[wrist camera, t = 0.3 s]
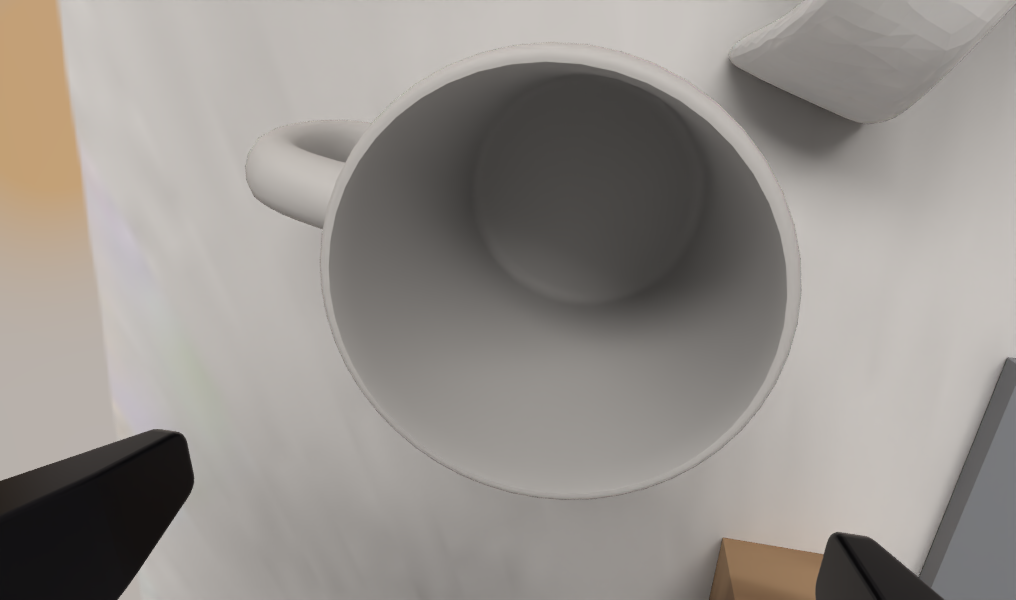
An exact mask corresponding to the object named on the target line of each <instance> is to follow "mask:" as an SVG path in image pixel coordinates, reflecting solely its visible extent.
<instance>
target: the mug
mask: <svg viewBox="0 0 1016 600" xmlns="http://www.w3.org/2000/svg"><path fill="white" fill-rule="evenodd" d="M245 170H246V180H247V183H248V185H249V187H250V189H251V191H252V193H253V195H254V197H255V198H256V199H258V200H259V201H260V202H261V203H263V204H264V205H266V206H268V207H269V208H271V209H273V210H275V211H277V212H279V213H281V214H283V215H285V216H288V217H290V218H293V219H295V220H298V221H301V222H304V223H307V224H309V225H312V226H315V227H318V228H321V229H323V231H322V238H321V254H320V271H321V287H322V294H323V299H324V304H325V309H326V314H327V318H328V321H329V325H330V328H331V331H332V334H333V337H334V340H335V343H336V345H337V347H338V349H339V352H340V354H341V356H342V358H343V360H344V362H345V365H346V367H347V368H348V370H349V372H350V373H351V375H352V377H353V378H354V380H355V382H356V383H357V385H358V387H359V388H360V390H361V391H362V392H363V394H364V395H365V396H366V398H367V399H368V400H369V402H370V403H371V404H372V405H373V407H374V408H375V409H376V411H377V412H378V413H379V414H380V415H381V416H382V417H383V418H384V419H385V420H386V421H387V422H388V423H389V424H390V425H391V426H392V427H393V428H394V430H396V431H397V432H398V433H399V434H400V435H401V436H403V437H404V438H405V439H406V440H407V441H409V442H410V443H411V444H412V445H413V446H414V447H416V448H417V449H419V450H420V451H422V452H423V453H425V454H426V455H427V456H429V457H430V458H432V459H433V460H435V461H436V462H438V463H440V464H442V465H443V466H445V467H447V468H449V469H451V470H453V471H455V472H456V473H458V474H460V475H462V476H465V477H467V478H470V479H472V480H475V481H477V482H479V483H482V484H484V485H487V486H491V487H494V488H497V489H501V490H504V491H507V492H511V493H516V494H521V495H526V496H532V497H537V498H549V499H561V500H571V499H595V498H602V497H610V496H617V495H622V494H626V493H630V492H634V491H638V490H642V489H646V488H649V487H651V486H654V485H657V484H659V483H662V482H664V481H667V480H670V479H672V478H674V477H676V476H678V475H680V474H682V473H684V472H686V471H687V470H689V469H691V468H693V467H695V466H697V465H698V464H700V463H701V462H703V461H704V460H706V459H707V458H708V457H710V456H711V455H713V454H714V453H716V452H717V451H719V450H720V449H721V448H722V447H723V446H724V445H726V444H727V443H728V442H729V441H730V440H731V439H732V438H733V437H735V436H736V435H737V434H738V433H739V432H740V431H741V430H742V429H743V428H744V427H745V425H746V424H747V423H748V422H749V421H750V420H751V418H752V417H753V416H754V415H755V414H756V412H757V411H758V410H759V409H760V408H761V406H762V404H763V403H764V401H765V400H766V398H767V396H768V395H769V393H770V392H771V390H772V389H773V387H774V385H775V384H776V382H777V380H778V378H779V375H780V373H781V371H782V369H783V366H784V364H785V362H786V360H787V357H788V355H789V352H790V348H791V345H792V341H793V338H794V334H795V331H796V327H797V323H798V316H799V307H800V299H801V258H800V252H799V247H798V241H797V236H796V230H795V225H794V222H793V219H792V216H791V214H790V211H789V208H788V205H787V202H786V199H785V196H784V193H783V191H782V189H781V187H780V185H779V183H778V181H777V179H776V177H775V175H774V174H773V172H772V170H771V168H770V166H769V164H768V162H767V160H766V159H765V157H764V156H763V155H762V153H761V152H760V150H759V149H758V148H757V146H756V145H755V144H754V142H753V141H752V140H751V138H750V137H749V136H748V134H747V133H746V131H745V130H744V129H743V128H742V127H741V126H740V125H739V124H738V123H737V122H736V121H735V120H734V119H733V118H732V117H731V116H730V115H729V114H728V113H727V112H726V111H725V110H724V109H723V108H722V107H721V106H720V105H719V104H718V103H717V102H715V101H714V100H713V99H711V98H710V97H709V96H707V95H706V94H705V93H703V92H702V91H701V90H699V89H698V88H697V87H695V86H694V85H693V84H691V83H690V82H689V81H687V80H685V79H683V78H681V77H680V76H678V75H676V74H674V73H672V72H670V71H668V70H667V69H665V68H663V67H661V66H659V65H657V64H655V63H652V62H649V61H647V60H644V59H641V58H638V57H636V56H633V55H630V54H627V53H625V52H622V51H617V50H612V49H607V48H603V47H598V46H593V45H588V44H575V43H558V42H545V43H533V44H521V45H512V46H508V47H504V48H499V49H495V50H491V51H487V52H482V53H479V54H476V55H474V56H471V57H468V58H466V59H463V60H461V61H458V62H456V63H453V64H450V65H448V66H446V67H444V68H442V69H441V70H439V71H437V72H435V73H434V74H432V75H430V76H428V77H426V78H425V79H423V80H421V81H419V82H418V83H416V84H415V85H413V86H412V87H411V88H410V89H408V90H407V91H406V92H405V93H403V94H402V95H401V96H399V97H398V98H397V99H396V100H394V101H393V102H392V103H391V104H390V105H389V106H388V107H387V108H386V109H385V110H384V111H383V112H382V113H381V114H380V115H379V116H378V117H377V118H376V119H375V120H374V121H373V122H372V123H368V122H361V121H350V120H320V121H308V122H300V123H294V124H290V125H285V126H282V127H279V128H276V129H274V130H272V131H270V132H268V133H267V134H265V135H263V136H261V137H259V138H258V139H257V141H256V142H255V144H254V145H253V147H252V149H251V150H250V152H249V153H248V156H247V161H246V165H245Z"/></svg>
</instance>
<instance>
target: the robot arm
mask: <svg viewBox="0 0 1016 600" xmlns="http://www.w3.org/2000/svg"><path fill="white" fill-rule="evenodd" d="M193 484H194V473H193V468H192V464H191V459H190V454H189V449H188V444H187V441H186V438H185V437H184V436H183V434H181V433H179V432H175V431H169V430H162V429H153V430H150V431H147V432H144V433H141V434H138V435H135V436H132V437H129V438H126V439H123V440H120V441H117V442H114V443H111V444H108V445H105V446H103V447H100V448H96V449H93V450H91V451H88V452H85V453H82V454H79V455H76V456H73V457H70V458H67V459H64V460H61V461H58V462H55V463H52V464H49V465H46V466H43V467H40V468H37V469H34V470H32V471H28V472H26V473H23V474H20V475H17V476H14V477H11V478H8V479H5V480H2V481H0V600H118V599H119V597H120V596H121V595H122V593H123V592H124V591H125V589H126V588H127V587H128V585H129V584H130V582H131V581H132V580H133V578H134V577H135V575H136V574H137V573H138V571H139V570H140V568H141V567H142V565H143V564H144V562H145V561H146V559H147V558H148V556H149V555H150V553H151V552H152V550H153V549H154V547H155V546H156V544H157V543H158V541H159V540H160V538H161V537H162V535H163V534H164V532H165V531H166V529H167V528H168V526H169V525H170V523H171V522H172V520H173V519H174V517H175V516H176V514H177V513H178V511H179V510H180V508H181V507H182V505H183V504H184V502H185V501H186V499H187V498H188V497H189V495H190V493H191V491H192V488H193ZM815 598H816V600H945V599H944V598H942V597H941V596H940V595H939V594H938V593H936V592H935V591H934V590H933V589H932V588H930V587H929V586H928V585H927V584H926V583H924V582H923V581H922V580H921V579H920V578H919V577H917V576H916V575H915V574H914V573H913V572H911V571H910V570H909V569H908V568H907V567H905V566H904V565H903V564H902V563H901V562H899V561H898V560H897V559H896V558H895V557H894V556H892V555H891V554H890V553H889V552H888V551H886V550H885V549H884V548H883V547H882V546H880V545H879V544H878V543H877V542H876V541H874V540H873V539H871V538H869V537H867V536H862V535H855V534H848V533H842V532H836V533H833V534H832V535H831V536H830V537H829V539H828V542H827V545H826V549H825V552H824V555H823V559H822V562H821V566H820V569H819V573H818V576H817V580H816V586H815Z"/></svg>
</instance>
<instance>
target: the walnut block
mask: <svg viewBox="0 0 1016 600" xmlns="http://www.w3.org/2000/svg"><path fill="white" fill-rule="evenodd" d="M823 555H824V554H818V553H812V552H806V551H800V550H794V549H788V548H782V547H776V546H770V545H764V544H758V543H752V542H746V541H740V540H734V539H728V538H723V539H722V543H721V548H720V552H719V557H718V561H717V566H716V570H715V575H714V579H713V584H712V588H711V593H710V597H709V600H816V598H815V586H816V580H817V576H818V573H819V569H820V566H821V562H822V559H823Z"/></svg>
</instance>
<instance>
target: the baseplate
mask: <svg viewBox="0 0 1016 600" xmlns="http://www.w3.org/2000/svg"><path fill="white" fill-rule="evenodd" d="M919 578H920V579H921V580H922V581H923V582H924V583H926V584H927V585H928V586H929V587H930V588H932V589H933V590H934V591H935V592H936V593H938V594H939V595H940V596H941V597H942V598H944V599H945V600H1016V358H1007V361H1006V363H1005V366H1004V368H1003V371H1002V373H1001V375H1000V378H999V380H998V383H997V385H996V388H995V390H994V393H993V395H992V398H991V400H990V403H989V405H988V408H987V410H986V413H985V415H984V418H983V420H982V423H981V425H980V428H979V430H978V433H977V435H976V438H975V440H974V443H973V445H972V448H971V450H970V453H969V455H968V457H967V460H966V462H965V465H964V467H963V470H962V472H961V475H960V477H959V480H958V482H957V485H956V487H955V490H954V492H953V495H952V497H951V500H950V502H949V505H948V507H947V510H946V512H945V515H944V517H943V520H942V522H941V525H940V527H939V530H938V532H937V534H936V537H935V539H934V542H933V544H932V547H931V549H930V552H929V554H928V557H927V559H926V562H925V564H924V567H923V569H922V572H921V574H920V577H919Z"/></svg>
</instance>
